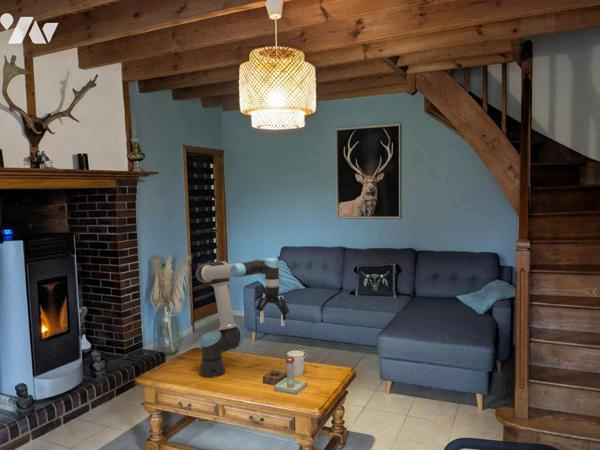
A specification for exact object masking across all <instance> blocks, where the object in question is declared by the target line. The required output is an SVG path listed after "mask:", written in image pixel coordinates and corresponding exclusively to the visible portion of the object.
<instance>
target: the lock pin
mask: <svg viewBox="0 0 600 450" xmlns="http://www.w3.org/2000/svg"><path fill="white" fill-rule="evenodd" d="M294 361H295V359H294V357H288V356H287V357H285V363H286V365H285V366H286V371H285V372H286V373H287V388H294V380H295V376H294Z"/></svg>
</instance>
